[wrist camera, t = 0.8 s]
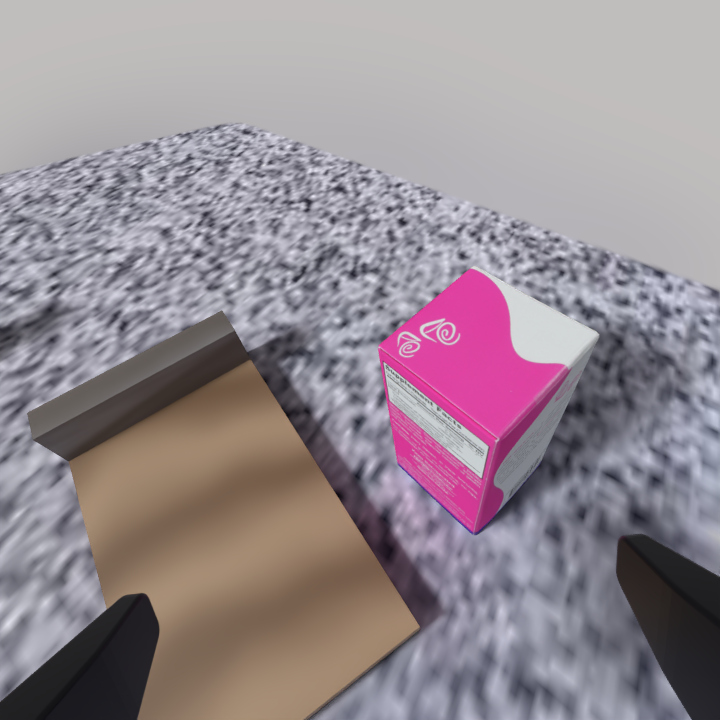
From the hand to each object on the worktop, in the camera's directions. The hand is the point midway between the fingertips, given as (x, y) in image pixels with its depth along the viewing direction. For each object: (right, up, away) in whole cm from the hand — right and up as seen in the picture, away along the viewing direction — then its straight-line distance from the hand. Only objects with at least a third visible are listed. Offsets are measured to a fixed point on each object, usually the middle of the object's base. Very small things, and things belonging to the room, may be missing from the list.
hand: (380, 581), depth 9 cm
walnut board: (-8, -5, +16) cm, 19 cm away
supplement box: (+6, -2, +17) cm, 18 cm away
